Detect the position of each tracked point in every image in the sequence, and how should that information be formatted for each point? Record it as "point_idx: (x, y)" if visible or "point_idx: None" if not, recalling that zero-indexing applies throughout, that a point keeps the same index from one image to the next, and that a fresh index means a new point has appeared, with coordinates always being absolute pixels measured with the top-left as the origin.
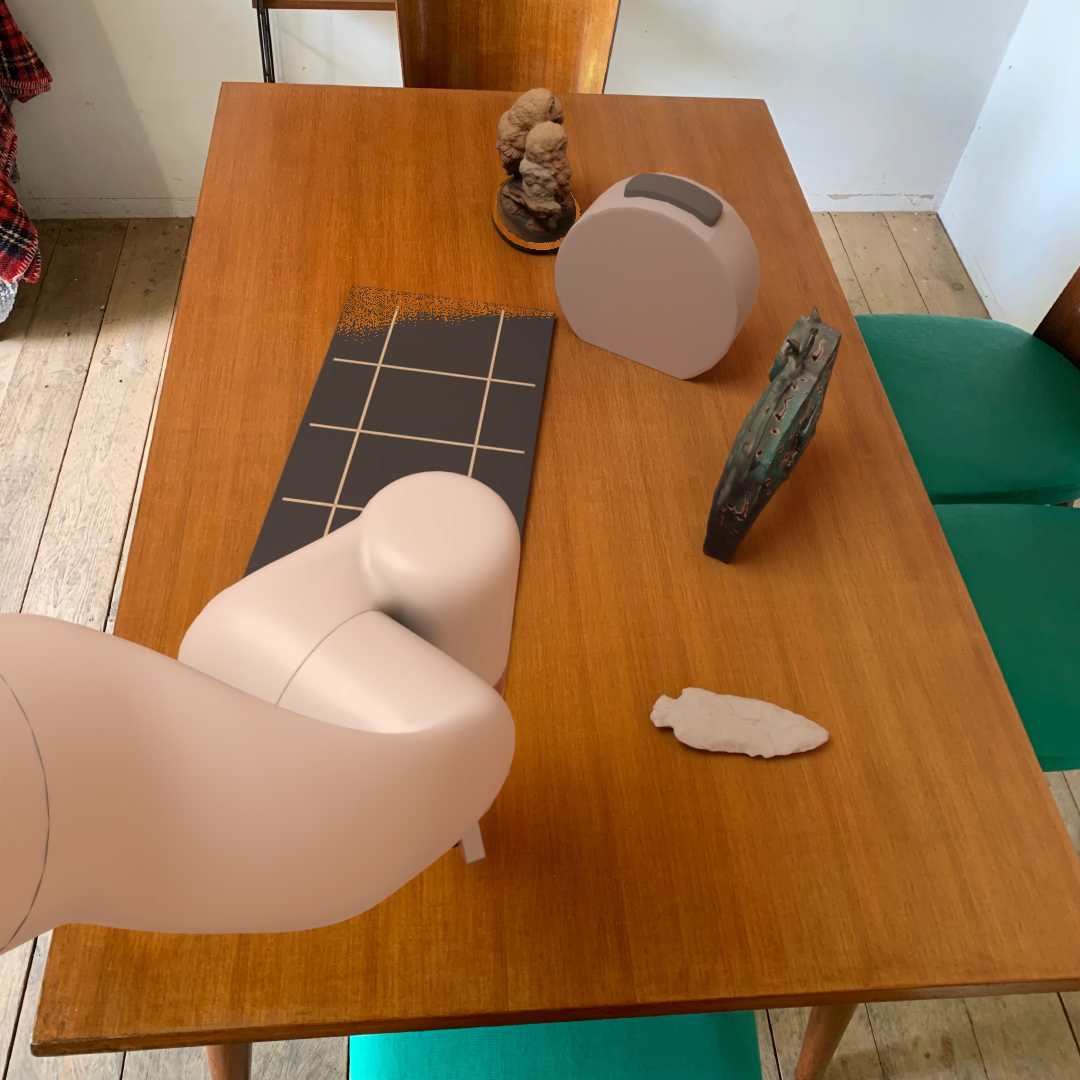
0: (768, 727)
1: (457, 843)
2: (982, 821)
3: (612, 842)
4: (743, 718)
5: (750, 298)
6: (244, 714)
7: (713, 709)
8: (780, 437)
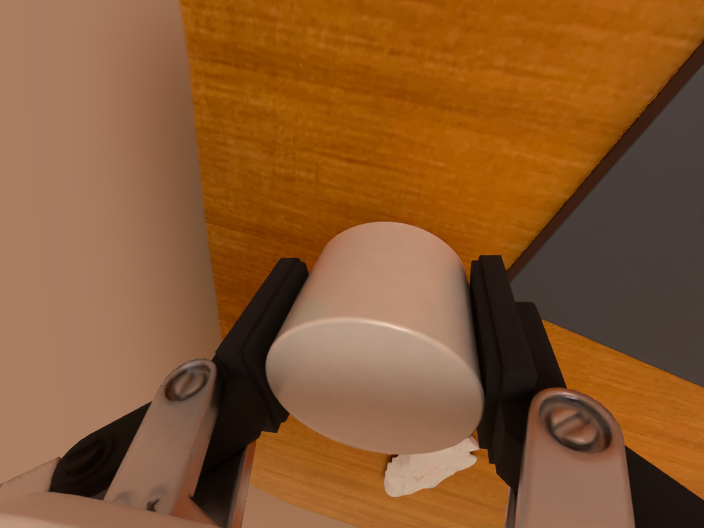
0: (409, 480)
1: (44, 489)
2: (318, 497)
3: None
4: (423, 476)
5: None
6: None
7: (440, 470)
8: None
